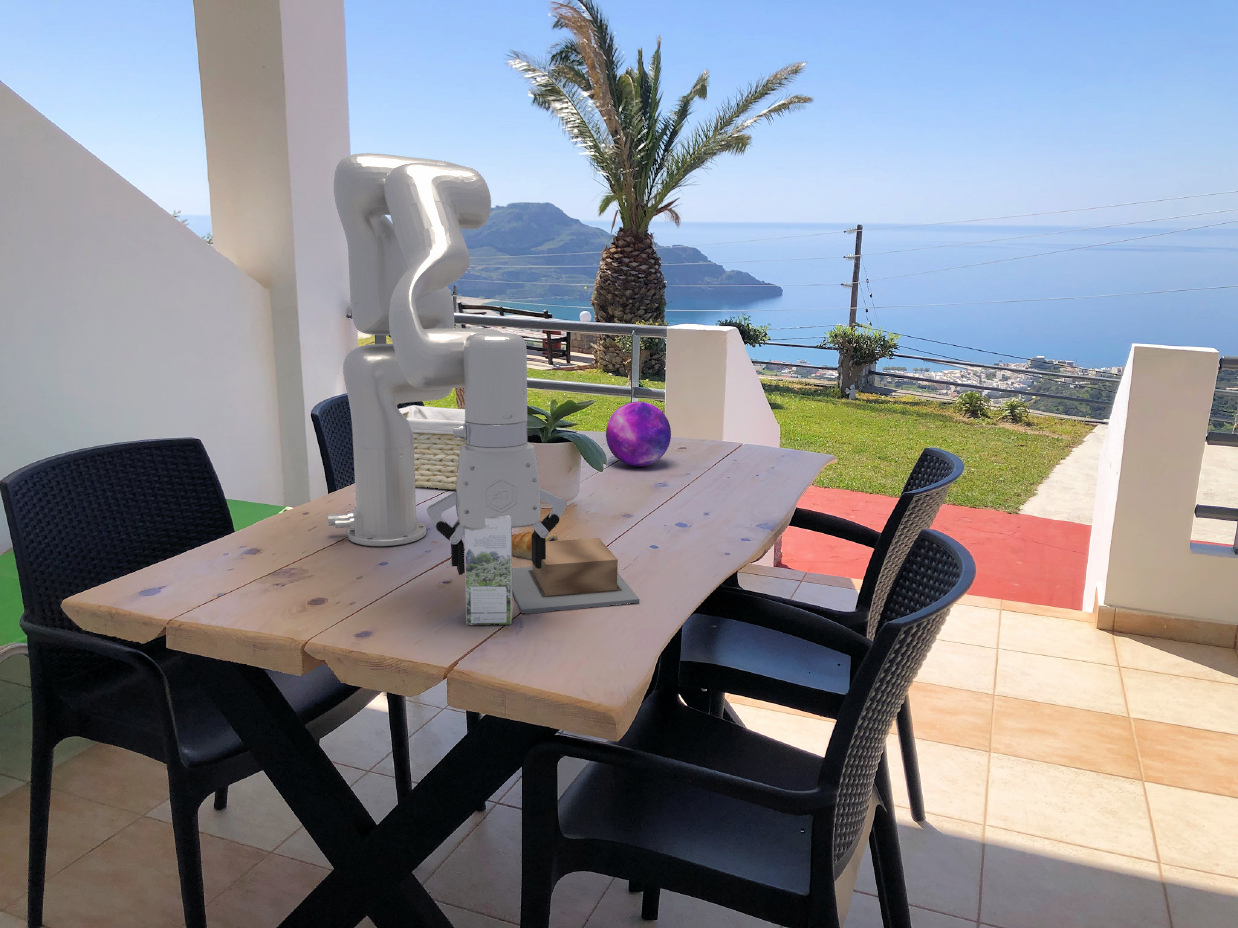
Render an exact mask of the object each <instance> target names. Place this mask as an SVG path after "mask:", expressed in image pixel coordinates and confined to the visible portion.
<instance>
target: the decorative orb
mask: <svg viewBox="0 0 1238 928" xmlns="http://www.w3.org/2000/svg"><path fill="white" fill-rule="evenodd" d="M671 439H672V431H671V425H670V422H669V419H668V417H667V415H666V414H664V412H663V411H662V410H661V409H660V408H659V407H657V406H656V405H653V404H652V403H649V402H646V401H633V402H628V403H625V404H623V405H622V406H619V407H618V408H617V409H616V410H615V411H614V412H613V413H612V414H611V416H610V418H609V419H608V422H607V425H606V429H605V440H606V443H607V444H606V445H607V446H608V449H609V450H610V452H611V453H612V455H613V456H614V457H615V459H617V460H618V461H620V462H621V463H623V464H625V465H628V466H630V467H636V468H637V467H638V468H639V467H647V466H650V465H652V464H654V463H656V462H657V461H659V460H660V459H661V458H662V457H663V456H664V455H665V453H667V451H668V448H669V446H670V443H671Z"/></svg>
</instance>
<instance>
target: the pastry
mask: <svg viewBox="0 0 1238 928" xmlns="http://www.w3.org/2000/svg"><path fill="white" fill-rule="evenodd" d="M533 532H534V530H531V531H523V532H519V533H512V557H516V558H521V559H527V560H530V561H532V538H531V535H532V534H533ZM547 541H560V540H559V538H558V536H557V534H555V533H554V532H552V533H549V535H548V536H547V537H546V542H547Z"/></svg>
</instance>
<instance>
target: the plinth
mask: <svg viewBox="0 0 1238 928" xmlns="http://www.w3.org/2000/svg"><path fill="white" fill-rule="evenodd" d="M618 560H619V559H618V558H617V557H616V555H615V554H614V553H613V552H612V551H611V550H610V549H609V548H608V546H606V544H605V543H604V542H603V540H601V539H600V537H595V538H593V537H592V538H580V539H565V540H559V541H547V542H546V559H545V560H542V567H541V568H539V569H537V568H535V566H534V564H533V562H532V561H531V563H532V566H531V567H532V571H533V573H532V571H531V570H530V571H528V572H531V573H532V574H533V575H532V574H531V573H530V575H531V576H532V577H533V576H534V577H533V578H532V579H533V581H534V579H535V581H536V582H535V581H534V583H535V585H536V587H538V588H537V589H538V591H540V594H542V593H544V594H545V595H546V596H545V595H544V594H542V595H543V597H542V598H544V597H549V596H550V597H552V595H555V596H556V595H562V596H565V595H566V594H568V596H570V595H571V594H572V595H574V593H577V594H576V595H582V594H591V593H592V592H593V593H598V592H599V593H604V592H617V591H616V590H617V589H618V591H621V589H620V587H619V586H618V585H617V572H618V566H619V565H618ZM537 581H538V582H539V583H538V582H537ZM538 584H539V585H538ZM540 587H541V588H540ZM539 589H541V590H539ZM619 589H620V590H619ZM542 590H543V591H544V592H543V591H542ZM614 590H615V591H614ZM586 592H588V593H586ZM578 593H579V594H578ZM580 593H581V594H580ZM542 595H541V596H542ZM555 596H554V597H555ZM556 597H558V596H556Z"/></svg>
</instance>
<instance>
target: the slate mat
mask: <svg viewBox="0 0 1238 928" xmlns="http://www.w3.org/2000/svg"><path fill="white" fill-rule="evenodd" d="M530 570H531V571H532V566H523V567H512V596H513V595H514V596H513V598H514V600H515V602H517V603H516V604H518V605H517V607H518V609H519V611H521V612H520V614H521V613H526V614H535V613H536V612H538V613H546V612H555V611H554V610H560V611H568V609H571V610H579V609H580V610H581V609H582V610H583V609H589V607H593V608H602V607H601V606H604V607H611V606H610V605H615V606H617V605H616V604H626V605H630V604H629V603H637V604H640V598H639V597H638V596H637V594H636V592H634V591H633V589H632V588H631V587H630V586H629V584H628V583H627V582H626V581H625V579H623V577H622V576H621V574H620V573H619V572H618V571H617V585H618V586H619V587H620V589H621V591H618V589H617V590H616V591H617V592H604V593H599V592H598V593H593V592H592V593H591V594H582V595H576V594H577V593H574V595H572V594H571V595H570V596H568V594H566V595H565V596H562V595H556V596H558V597H556V596H555V595H552V597H550V596H549V597H544V598H542V597H543V595H542V594H544V593H542V594H540V591H538V589H537V588H538V587H536V585H535V583H534V581H535V579H534V581H533V579H532V578H533V577H534V576H533V577H532V576H531V575H530V573H531V572H528V571H530ZM532 573H533V571H532ZM532 573H531V574H532ZM532 575H533V574H532ZM535 582H536V581H535ZM537 582H538V581H537ZM538 583H539V582H538ZM538 585H539V584H538ZM540 588H541V587H540ZM620 589H619V590H620ZM539 590H541V589H539ZM542 591H543V590H542ZM614 591H615V590H614ZM543 592H544V591H543ZM586 593H588V592H586ZM578 594H579V593H578ZM580 594H581V593H580ZM541 595H542V596H541ZM544 595H545V594H544ZM545 596H546V595H545ZM554 596H555V597H554ZM627 603H628V604H627Z"/></svg>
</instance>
